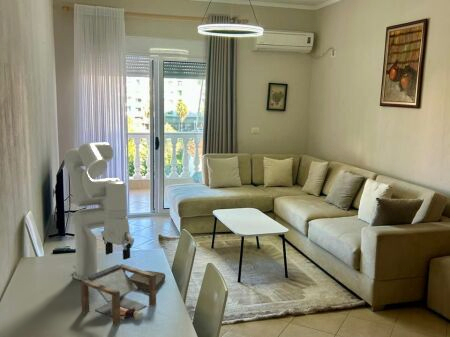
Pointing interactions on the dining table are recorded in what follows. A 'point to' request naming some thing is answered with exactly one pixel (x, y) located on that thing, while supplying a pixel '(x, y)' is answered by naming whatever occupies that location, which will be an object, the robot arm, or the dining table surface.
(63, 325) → the dining table surface
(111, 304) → the frame
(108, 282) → the trapdoor plate
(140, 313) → the grandmother figurine
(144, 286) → the marble piece
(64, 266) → the dining table surface
